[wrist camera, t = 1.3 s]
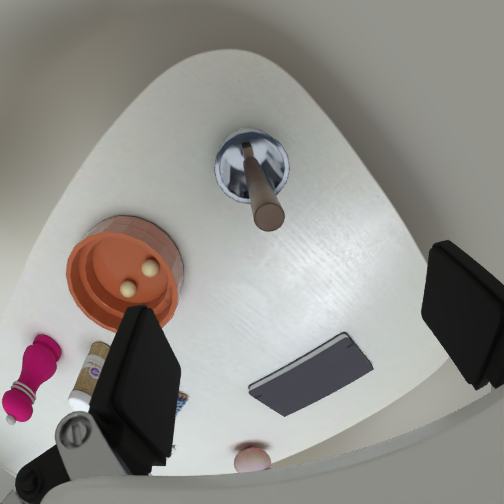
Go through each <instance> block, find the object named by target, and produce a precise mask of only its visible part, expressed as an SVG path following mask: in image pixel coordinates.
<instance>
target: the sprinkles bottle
mask: <svg viewBox="0 0 504 504" xmlns="http://www.w3.org/2000/svg"><path fill="white" fill-rule="evenodd" d="M109 349H110V347H108V346H107V345H106V344H104V343H99V342H97V343H94V344H93V345H92V346H91V350H90V352H89V354H88V356H87V358H86V360H85V362H84V364H83V366H82V369H81V371H80V373H79V376H78V378H77V381H76V384H75V386H74V389H73V390H72V391H71V393H70V395H69V398H68V404H69V405H70V406H71V408H73V409H74V410H75V411H85V412H87V413H88V411H89V408H90V406H89V403H90V400H91V397H92V394H93V391H94V389H95V386H96V383H97V380H98V378H99V375H100V372H101V370H102V367H103V365H104V362H105V359H106V357H107V354H108V352H109Z"/></svg>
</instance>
